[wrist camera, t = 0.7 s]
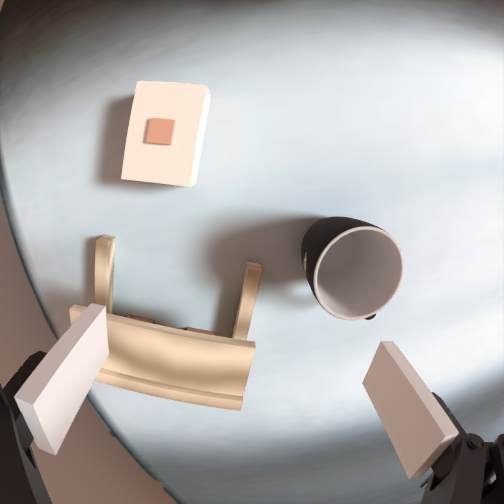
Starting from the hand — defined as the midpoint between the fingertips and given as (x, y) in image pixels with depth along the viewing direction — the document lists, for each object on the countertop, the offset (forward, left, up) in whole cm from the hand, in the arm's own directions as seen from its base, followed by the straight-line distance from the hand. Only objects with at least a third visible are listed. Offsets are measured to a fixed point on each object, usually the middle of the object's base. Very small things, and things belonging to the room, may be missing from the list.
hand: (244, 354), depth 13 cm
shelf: (+9, -7, -22) cm, 25 cm away
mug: (0, +11, -22) cm, 25 cm away
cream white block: (-10, -10, -22) cm, 26 cm away
